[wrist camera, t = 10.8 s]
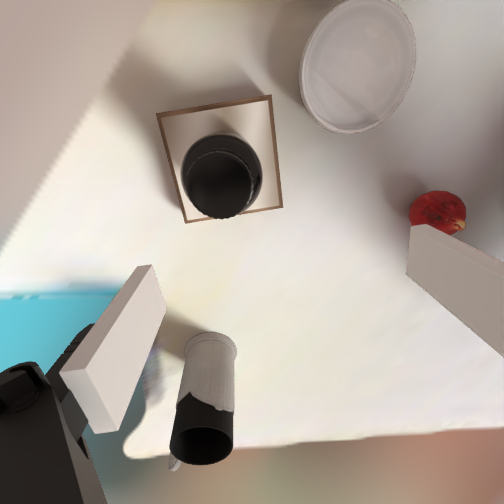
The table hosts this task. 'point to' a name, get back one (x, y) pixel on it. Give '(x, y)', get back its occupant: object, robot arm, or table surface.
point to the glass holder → (205, 402)
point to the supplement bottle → (221, 175)
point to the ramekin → (357, 65)
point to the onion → (439, 211)
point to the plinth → (234, 120)
